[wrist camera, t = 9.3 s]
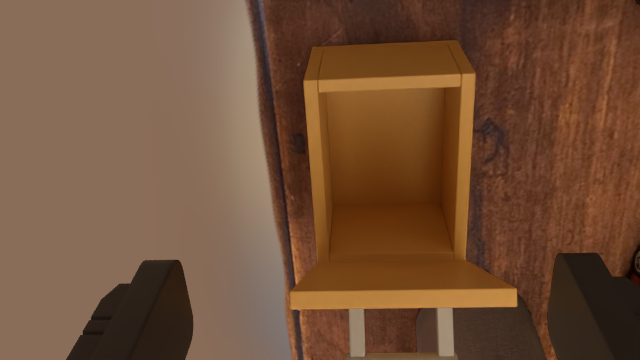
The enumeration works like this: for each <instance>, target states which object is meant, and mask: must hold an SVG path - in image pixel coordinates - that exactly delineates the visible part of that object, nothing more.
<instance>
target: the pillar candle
mask: <svg viewBox="0 0 640 360" xmlns="http://www.w3.org/2000/svg"><path fill="white" fill-rule="evenodd" d="M415 332H416V342H417V352H418V353H430V352H437V337H436V308H421V309H420V311H419V313H418V315H417V319H416V327H415ZM453 337H454V352H455V353H456V354H457V357H458V360H547V359H546V357H545V353H544V351H543V349H542V345H541V342H540V338H539V336H538V334H537V331H536V330H535V326H534V324H533V319H532V317H531V312H530V311H529V310H528V309H527V306H526V305H525V302H524V300H523V299H522V298H521V297H520V296H519V295H518V294H517V307H470V308H453Z"/></svg>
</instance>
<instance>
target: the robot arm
mask: <svg viewBox="0 0 640 360" xmlns="http://www.w3.org/2000/svg"><path fill="white" fill-rule="evenodd" d="M547 322H548V331H549V336H550V340H551V343H552V345H553V348H554V350H555V353H556V355H557V358H558V360H640V287H639V286H638V285H636V284H635V283H634V282H632V281H631V280H630V279H628V278H627V277H612V276H611V274H610V272H609V271H608V269H607V267H606V265H605V264H604V262H603V260H602V259H601V257H600V256H599V255H598V254H597V253H559V254H557V256H556V258H555V263H554V269H553V276H552V283H551V290H550V297H549V304H548V312H547ZM192 335H193V314H192V309H191V305H190V300H189V295H188V291H187V286H186V281H185V277H184V272H183V268H182V265H181V262H180V261H179V260H145V261H143V262H142V263H141V265H140V267H139V269H138V270H137V272H136V274H135V276H134V278H133V280H132V282H131V284H119V285H118V286H117V287H115V288H114V289H113V290H112V291H111V292H110V293H108V294H107V295H106V296H105V297H104V298H102V299H101V301H100V303H99V305H98V306H97V308H96V310H95V311H94V313H93V315H92V317H91V320H89V322H88V323H87V325H86V327H85V328H84V330H83V335H80V337H79V339H78V341H77V342H76V344H75V345H74V347H73V349H72V351H71V352H70V354H69V356H68V357H67V359H66V360H185V358H186V355H187V353H188V349H189V347H190V344H191V340H192Z"/></svg>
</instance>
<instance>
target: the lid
mask: <svg viewBox="0 0 640 360" xmlns="http://www.w3.org/2000/svg"><path fill="white" fill-rule="evenodd" d="M470 307H517V289H516V288H515V287H513V286H511V285H510V284H508V283H506V282H504V281H502V280H501V279H499V278H497V277H495V276H494V275H492V274H490V273H488V272H486V271H485V270H483V269H481V268H479V267H477V266H476V265H474V264H472V263H470V262H469V261H467V260H432V261H375V262H319V263H317V264H316V265H315V266H314V267H313V268H312V269H311V270H310V271H309V272H308V273H307V274H306V275H305V276H304V277H303V278H302V279H301V281H300V282H299V283H298V284H297V285H296V286H295V287H294V288H293V289H292V290H291V291H290V309H292V310H293V309H349V341H350V353H347V360H458V357H457V354H456V353H455V352H454V337H453V308H470ZM381 308H436V337H437V352H430V353H365V324H364V309H381Z"/></svg>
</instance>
